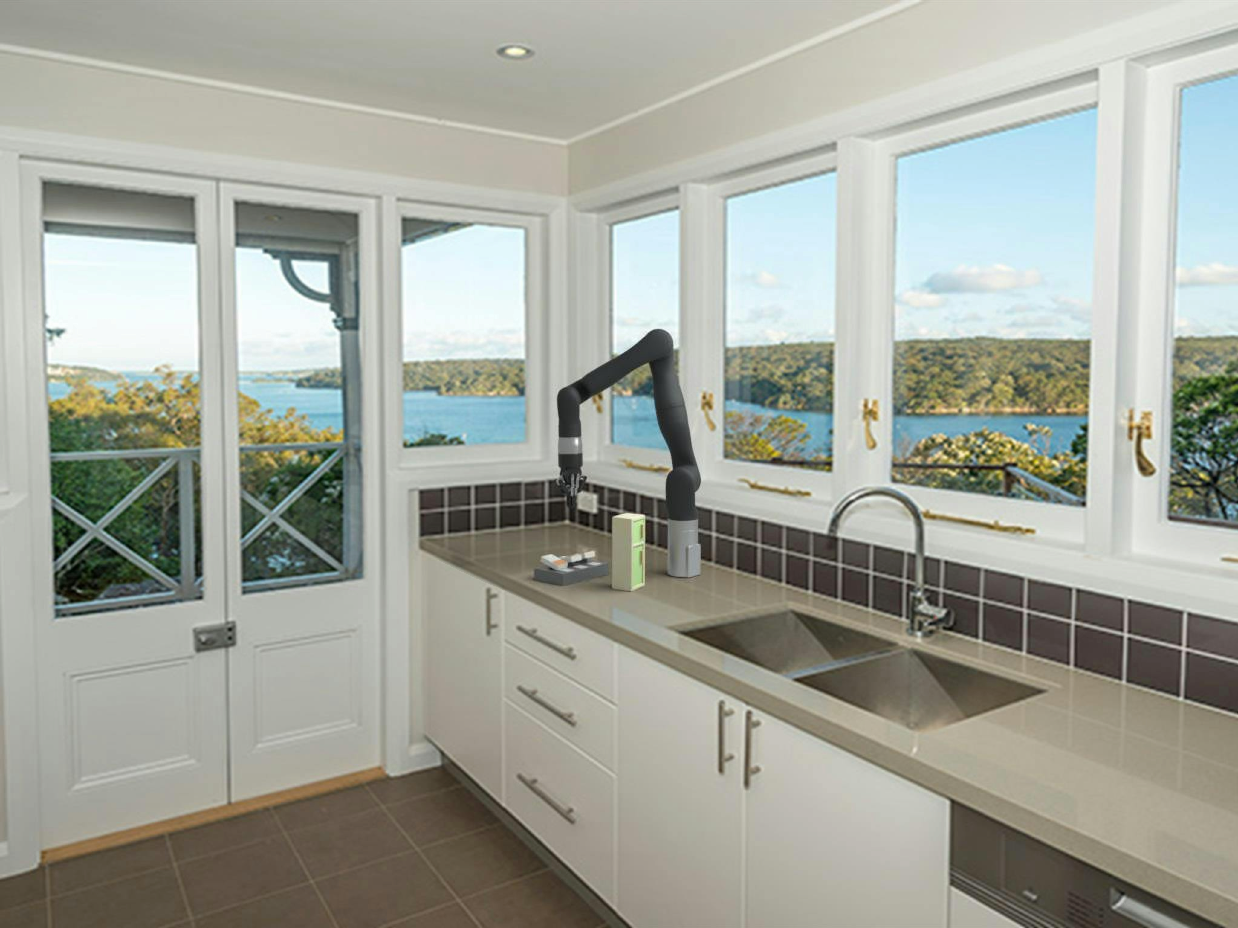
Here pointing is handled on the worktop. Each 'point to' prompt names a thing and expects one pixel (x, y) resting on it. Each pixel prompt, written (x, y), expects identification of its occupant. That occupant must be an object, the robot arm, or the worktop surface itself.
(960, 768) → the worktop surface
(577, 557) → the block
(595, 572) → the rocker switch panel
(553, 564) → the block
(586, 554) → the rocker
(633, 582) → the toy refrigerator
